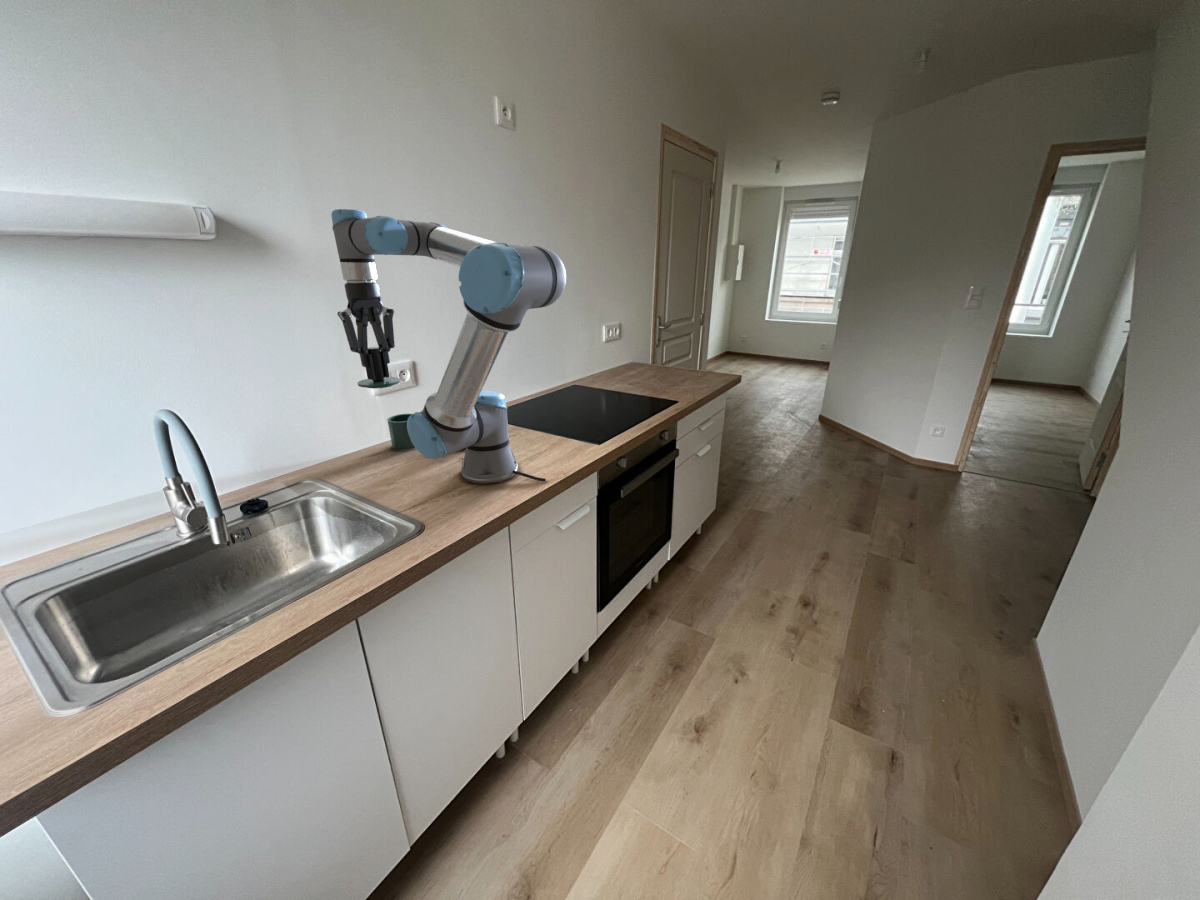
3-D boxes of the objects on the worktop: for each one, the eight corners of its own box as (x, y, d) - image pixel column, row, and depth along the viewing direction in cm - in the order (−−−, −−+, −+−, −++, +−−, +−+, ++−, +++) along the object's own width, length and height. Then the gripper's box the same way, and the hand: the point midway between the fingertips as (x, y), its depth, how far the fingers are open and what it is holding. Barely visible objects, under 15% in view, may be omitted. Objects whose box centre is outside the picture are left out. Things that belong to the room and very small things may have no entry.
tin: (428, 444, 147) (424, 416, 143) (402, 453, 140) (397, 424, 136) (413, 439, 152) (408, 412, 148) (386, 446, 145) (381, 418, 142)
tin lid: (408, 384, 119) (402, 347, 116) (371, 392, 112) (364, 352, 108) (387, 379, 125) (381, 343, 121) (350, 386, 117) (342, 348, 114)
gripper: (384, 281, 117) (398, 371, 126) (318, 282, 105) (340, 381, 114) (400, 281, 113) (414, 374, 122) (334, 282, 101) (355, 385, 110)
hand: (378, 377), depth 118 cm, fingers closed on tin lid, 3 cm apart
